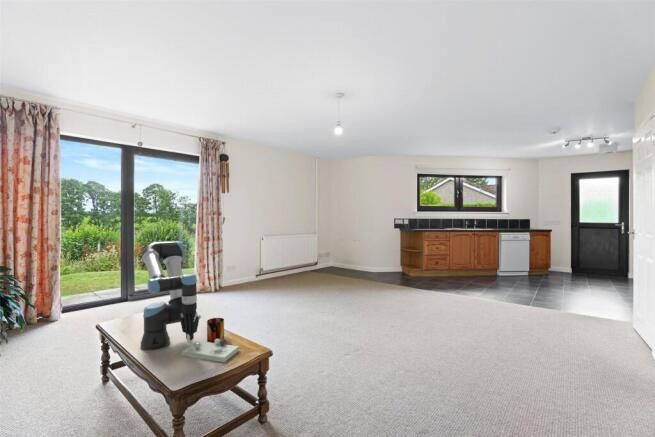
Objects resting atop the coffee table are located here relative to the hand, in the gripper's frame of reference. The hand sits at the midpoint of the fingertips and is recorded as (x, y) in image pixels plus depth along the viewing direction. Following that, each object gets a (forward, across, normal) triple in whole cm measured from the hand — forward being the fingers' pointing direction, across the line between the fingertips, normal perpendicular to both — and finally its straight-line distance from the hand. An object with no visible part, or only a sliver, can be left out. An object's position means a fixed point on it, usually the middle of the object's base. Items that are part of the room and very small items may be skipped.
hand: (189, 345), depth 179 cm
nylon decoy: (0, +12, +8) cm, 14 cm away
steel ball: (0, +5, 0) cm, 5 cm away
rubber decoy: (0, +15, +8) cm, 17 cm away
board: (+4, +12, +2) cm, 13 cm away
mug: (+4, +5, +18) cm, 19 cm away
